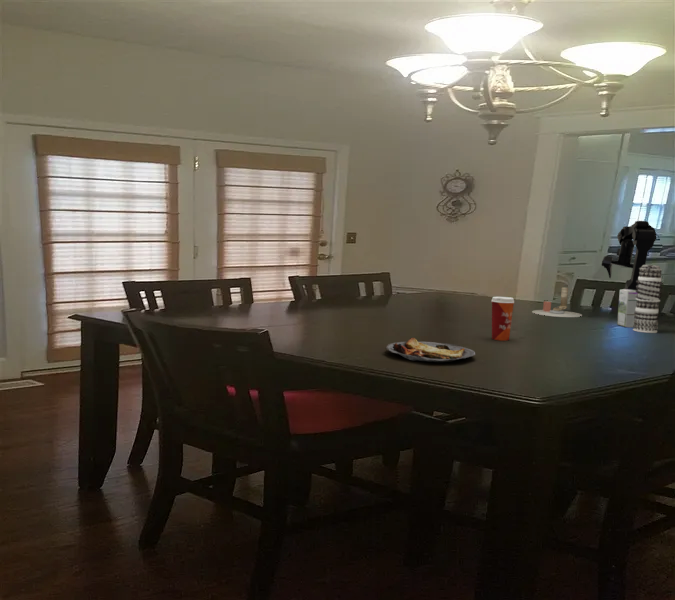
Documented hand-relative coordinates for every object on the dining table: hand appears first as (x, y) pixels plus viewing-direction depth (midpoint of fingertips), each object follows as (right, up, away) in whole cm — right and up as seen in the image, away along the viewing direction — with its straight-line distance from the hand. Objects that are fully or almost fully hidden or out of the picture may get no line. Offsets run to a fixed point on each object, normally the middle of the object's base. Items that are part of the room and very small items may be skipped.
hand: (620, 280), depth 315 cm
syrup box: (-21, -20, -55) cm, 63 cm away
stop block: (-41, -15, -19) cm, 48 cm away
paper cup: (-81, -23, -96) cm, 128 cm away
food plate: (-110, -26, -127) cm, 170 cm away
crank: (-36, -14, -21) cm, 44 cm away
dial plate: (-39, -16, -25) cm, 49 cm away
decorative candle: (-19, -22, -66) cm, 72 cm away
